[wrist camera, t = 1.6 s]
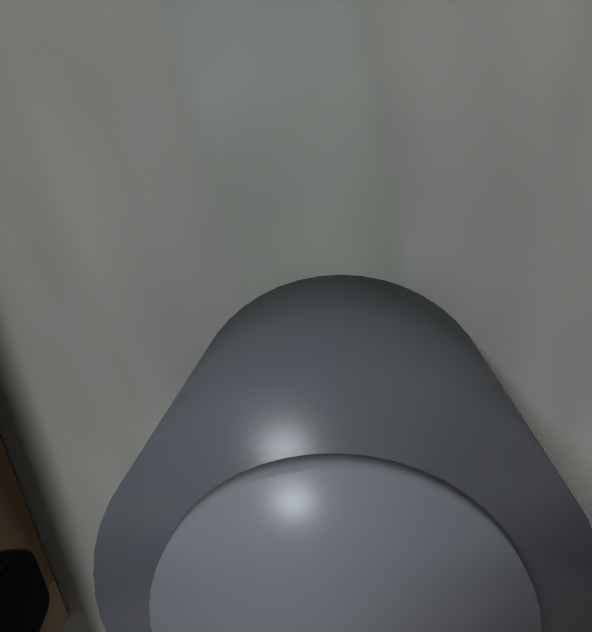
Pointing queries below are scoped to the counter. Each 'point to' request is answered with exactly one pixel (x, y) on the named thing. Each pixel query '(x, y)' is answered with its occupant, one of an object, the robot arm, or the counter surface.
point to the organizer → (26, 538)
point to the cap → (343, 484)
